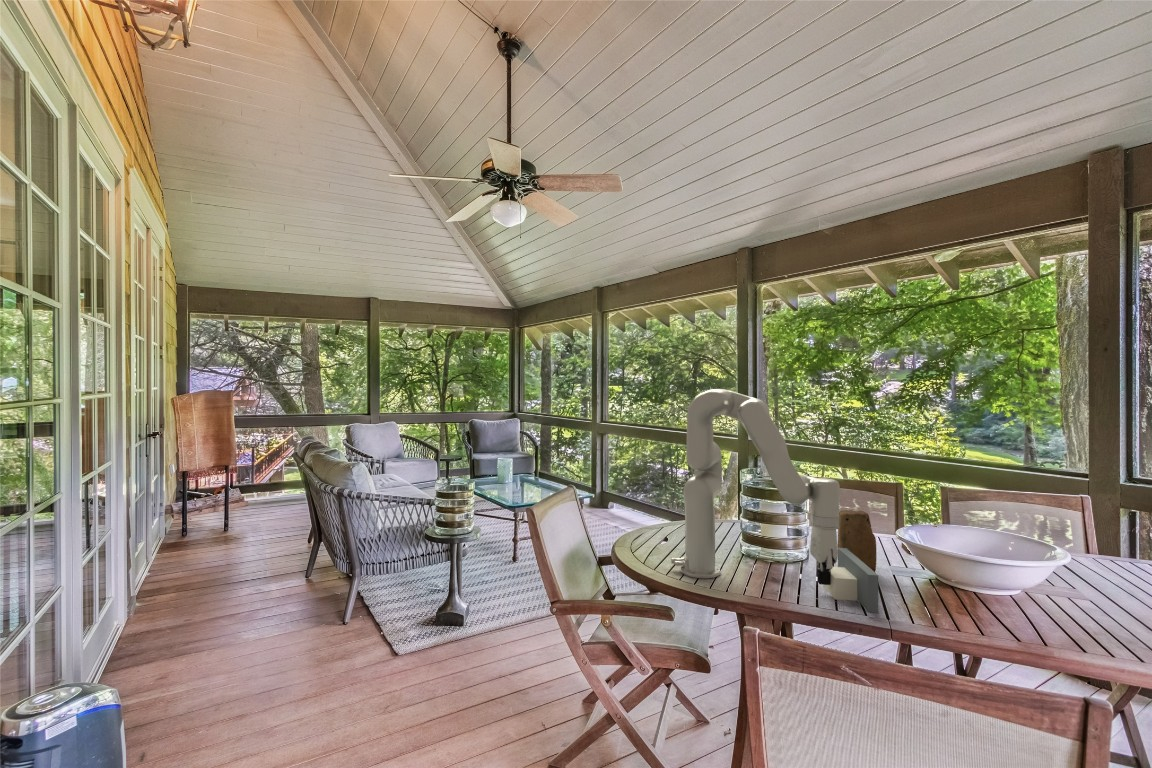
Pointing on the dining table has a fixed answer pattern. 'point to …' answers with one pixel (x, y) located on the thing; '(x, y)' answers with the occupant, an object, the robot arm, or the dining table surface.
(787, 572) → the dining table surface
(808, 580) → the dining table surface
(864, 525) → the block
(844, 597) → the cream block
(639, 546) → the dining table surface
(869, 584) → the slate board
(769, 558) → the dining table surface
